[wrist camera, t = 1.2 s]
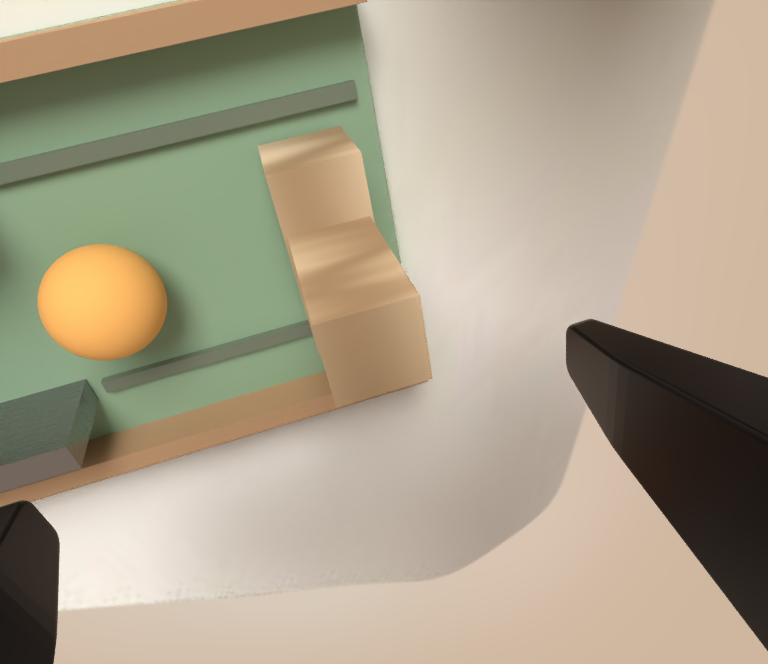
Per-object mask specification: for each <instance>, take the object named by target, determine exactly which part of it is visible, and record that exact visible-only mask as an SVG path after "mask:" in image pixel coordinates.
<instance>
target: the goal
mask: <svg viewBox="0 0 768 664" xmlns="http://www.w3.org/2000/svg"><path fill="white" fill-rule="evenodd" d="M98 401H99V398H98V397H97V395H96V394H95V392H94V390H93V389H92V387H91V386H90V384H89V382H88V381H87V379H84V380H80V381H77V382H73V383H70V384H66V385H63V386H59V387H55V388H52V389H48V390H45V391H41V392H38V393H34V394H31V395H27V396H24V397H20V398H17V399H13V400H9V401H6V402H2V403H0V493H1V492H4V491H8V490H11V489H14V488H18V487H21V486H24V485H28V484H31V483H34V482H38V481H41V480H44V479H48V478H51V477H54V476H58V475H61V474H64V473H68V472H71V471H74V470H78V469H81V468H82V464H83V460H84V456H85V452H86V448H87V444H88V440H89V437H90V433H91V429H92V425H93V421H94V417H95V413H96V409H97V405H98Z"/></svg>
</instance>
